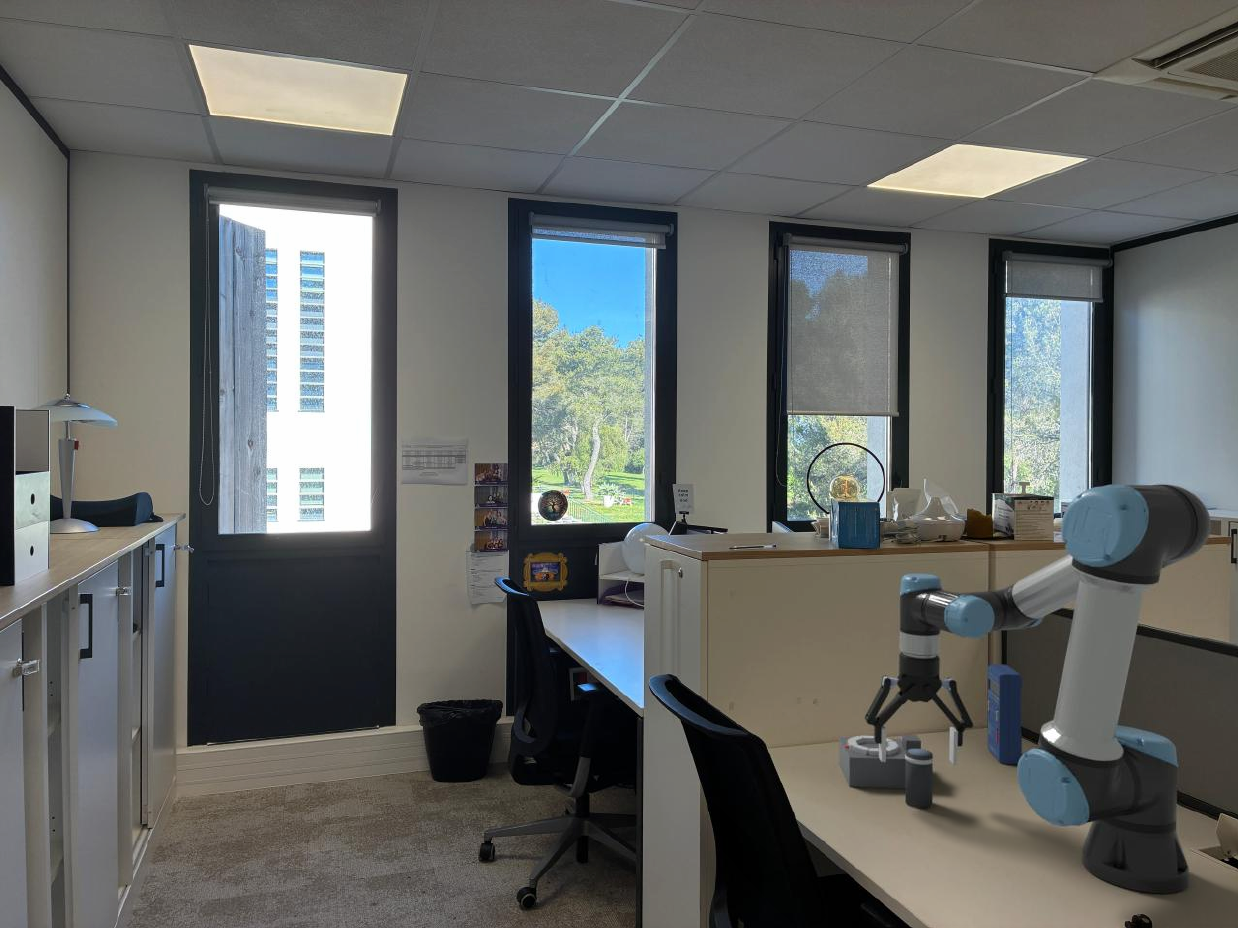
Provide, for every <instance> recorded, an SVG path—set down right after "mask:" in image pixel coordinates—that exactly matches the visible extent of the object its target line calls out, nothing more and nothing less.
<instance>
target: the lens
mask: <svg viewBox="0 0 1238 928" xmlns="http://www.w3.org/2000/svg"><path fill="white" fill-rule="evenodd" d="M905 760H906V788H905V804H906V805H907V806H909V807H911V808H914V809H921V810H927V809H930V808H932V807H933V794H934V793H933V786H934V785H933V782H934V781H933V778H934V777H933V769H934V767H933V765H934V764H933V763H934V756H933V752H932V751H929V750H928V749H927V750H926V749H922V748H921V749H908V750H906V754H905Z"/></svg>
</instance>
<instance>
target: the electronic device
mask: <svg viewBox="0 0 1238 928" xmlns="http://www.w3.org/2000/svg"><path fill="white" fill-rule="evenodd" d="M1022 689H1023V676H1022V675H1021V674H1020V673H1019V672H1017V671H1016V670H1014V669H1013V668H1012V667H1011V666H1009V665H1007V664H990V665H988V666H987V750H988V751H989V752H990V753H991V754H992V755H993V756H994V757H995V759H996V760H997V761H999V762H1000V763H1001V764H1003V765H1017V766H1018V762H1019V760H1020V758H1021V756H1022V755H1023V752H1022V751H1023V750H1022V749H1023V748H1022V747H1023V743H1022V742H1023V733H1022Z"/></svg>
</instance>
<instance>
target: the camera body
mask: <svg viewBox="0 0 1238 928" xmlns="http://www.w3.org/2000/svg"><path fill="white" fill-rule="evenodd" d="M838 749H839V750H838V765H839V767H840V770H841V772H842V774H843V775H844V778H845V780H846V782H847V784H848V786H849V787H857V788H865V787H866V788H885V789H887V788H889V789H890V788H891V789H906V760H905V754H906V750H908V749H922V740H921V739H920V737H919V736H918V735H917V734H902V735H901V738H887V737H886V762H882V761H881V760H880V758H879V744H876V742H875V740H874V735H856V736H853V737H842V736H841V737H839V739H838Z"/></svg>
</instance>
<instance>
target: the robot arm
mask: <svg viewBox="0 0 1238 928" xmlns="http://www.w3.org/2000/svg"><path fill="white" fill-rule="evenodd" d="M1060 525H1061V527H1060V534H1061V539H1062V541H1063V542H1065V545H1064V548H1065V550H1066V551H1067V553H1068V554H1067V555H1065V556H1063V557H1061V558H1059V559H1058V560H1056V561H1054V562H1052V563H1050V564H1047V565H1046V566H1044V567H1042V568H1041V569H1038V570H1036V571H1034V572H1033V573H1031V574H1028V575H1027V576H1025V577H1024V578H1022V579H1020V580H1018V581H1017V582H1014V583H1012V584H1010V585H1009V586H1007V587H1004V588H1002V589H996V590H995V589H993V590H987V591H986V590H985V591H967V592H956V591H949V590H946V589H942V588H943V586H942V580H941V578H940V577H939V576H937V575H934V574H929V573H928V574H927V573H908V574H904V575H903V576H902V578H901V580H900V592H899V651H900V653H899V654H898V655H899V656H898V658H899V659H898V661H899V662H898V675H897V678H895V677H889V676H888V675H887V674H886V675H883V676H882V677H881V684H880V688H879V689H878V691H877V693H876V694H875V697H874V698H873V701H872V703H871V705H870V706H869V708H868V709H867V711H866V714H865V715H864V720H865V722H866V723H867V724H868V725H871V726H872V727H873V736H874V740H875V742H876V744H879V758H880V760H881V761H882V762H886V738H887V728H886V727H885V724H886V723H887V722H888V721H889V720H890V719H891V717H893V716H894V714H895V713H896V712H897V711H898V710H899V709H900V708H901V707H902V706H903V705H905V704H906V703H907V702H908V701H910V702H912V703H918V702H923V703H929V702H930V701H933V702H934V703H935V704H936V706H937V707H938V708H939V709H940V710H941V712H942V713H943V714H944V715H945V717H947V719H948V720H949V721H950V722H951V723H952V725H953V726H949V751H948V753H949V755H948V757H949V758H948V760H949V761H950V763H952V765H955V766H956V765H958V747H962V746H963V745H964V744H963V743H964V741H963V740H964V739H963V738H964V732H965V731H966V729H968V728H969V729H971V728H973V727H974V723H973V721H972V718H971V716H970V714H969V713H968V711H967V709H966V706H965V705H964V703H963V701H962V698H961V696H960V694H959V691H958V686H957V682H956V680H954V678H952V677H947V678H946V679H944V678H943V679H941V678H940V677H941V676H940V667H941V666H940V663H941V661H940V660H941V659H940V658H941V657H940V656H939V654H940V652H941V631H943V632H946V633H949V634H954V635H956V636H959V637H961V638H969V639H974V640H975V639H977V640H979V639H981V638H983V637H985V636H986V635H988V633H990V632H995V631H997V632H998V631H1008V630H1009V631H1010V630H1026V629H1028V628H1033V627H1036V626H1038V625H1039V624H1041V623H1042V621H1043V620H1044V618H1045V616H1047V615H1049V614H1051V613H1054V612H1056V611H1058V610H1060V609H1063V608H1064V607H1067V606H1069V605H1071V604H1073V603H1075V605H1074V609H1073V615H1072V616H1073V617H1072V620H1071V626H1070V632H1069V635H1068V637H1069V638H1068V642H1067V647H1066V648H1067V649H1066V652H1065V658H1064V663H1063V668H1062V674H1061V679H1060V685H1059V691H1058V696H1057V700H1056V707H1055V710H1054V716H1053V719H1052V720H1049V721H1048V722H1045V723H1044V724H1042V726H1041V728H1040V734H1039V738H1038V744H1037V747H1036V748H1031V749H1029V750H1028V751H1026V752H1025V753H1022V756H1021V758H1020V760H1019V762H1018V765H1017V767H1016V768H1017V769H1016V775H1017V782H1018V785H1019V789H1020V791H1021V793H1022V794H1023V796H1024V798H1025V800H1026V802H1027V804H1028V805H1029V807H1030V808H1031V809H1032V811H1034V813H1035V814H1036V815H1037V816H1039V817H1040V818H1041V819H1042V820H1044V821H1046V822H1047V823H1049V824H1051V825H1054V826H1058V827H1071V826H1075V827H1079V826H1082V825H1086V824H1088V823H1091V825H1090V827H1089V830H1088V833H1087V836H1086V837H1085V840H1084V843H1083V845H1082V851H1081V854H1082V855H1081V856H1082V857H1081V858H1082V859H1081V860H1082V861H1081V862H1082V865H1083V866H1084V868H1085V869H1086V870H1087V871H1088V872H1089V873H1091V874H1092V875H1094V876H1095V877H1097V878H1099V879H1101V880H1103V881H1105V882H1107V883H1109V884H1112V885H1114V886H1118V887H1121V888H1124V889H1129V890H1132V891H1137V892H1143V893H1149V894H1151V893H1152V894H1171V893H1172V894H1175V893H1180V892H1181V891H1184V890H1186V889H1187V888H1188V887H1189V885H1190V868H1189V865H1188V862H1187V859H1186V856H1185V852H1184V850H1183V847H1182V845H1181V841H1180V839H1179V836H1178V832H1177V815H1178V814H1177V809H1178V808H1177V805H1178V803H1177V801H1178V798H1177V796H1178V778H1177V777H1178V768H1179V763H1178V759H1177V748H1176V745H1175V744H1174V742H1172V741H1171V740H1170V739H1169V738H1167V737H1165V736H1163V735H1161V734H1157V733H1154V732H1151V731H1147V730H1145V729H1144V730H1143V729H1140V728H1135V727H1130V726H1125V725H1119V724H1118V723H1119V718H1120V714H1121V708H1122V703H1123V699H1124V693H1125V689H1126V688H1125V687H1126V683H1127V679H1128V675H1129V669H1130V663H1131V659H1132V655H1133V649H1134V644H1135V639H1136V634H1137V629H1138V624H1139V619H1140V616H1141V615H1140V614H1141V609H1142V606H1143V605H1142V604H1143V600H1144V595H1145V592H1146V591H1148V590H1150V589H1152V588H1153V587H1155V586H1157V585H1158V584H1159V582H1160V576H1161V573H1162V570H1163V569H1164V568H1166V567H1169V566H1171V565H1172V564H1176V563H1178V562H1181V561H1182V560H1185V559H1187V558H1189V557H1190V558H1191V556H1193V555H1195V554H1197V553H1199V551H1200V550H1201V549H1202V548H1203V547H1204V546H1205V545H1206V542H1207V541H1208V539H1209V538H1210V534H1211V530H1212V529H1211V526H1212V521H1211V516H1210V512H1209V511H1208V509H1207V507H1206V505H1205V504H1204V502H1203V501H1202V499H1201V498H1199V497H1198V496H1197V495H1196V494H1194V493H1193V492H1191V491H1189V490H1188V489H1185V488H1183V487H1181V486H1178V485H1173V484H1119V483H1115V484H1108V485H1103V486H1096V487H1095V486H1094V487H1092V488H1088V489H1086V490H1084V491H1083V492H1081V493H1080V494H1077V495H1076V496H1075V497H1074V498H1073V499H1072V500H1071V502H1069V504H1068V505H1067V507H1066V509H1065V511H1064V513H1063V517H1062V518H1061V524H1060ZM895 686H897V687H898V688H899V690H898V691H897V693H896V694H895V696H894V697H893V699H891V701H889V703H888V704H887V705H886V706H885V707H884V708H883V709H882V711H880V710H881V708H882V707H883V705H884V703H885V702H886V699H887V698H888V696H889V693H890V692H891V690H892V689H894V687H895ZM942 687H944V689H945V690H946V691H948V693H949V696H950V698H951V700H952V702H953V704H954V706H955V708H956V709H957V712H958V714H959V717H960V718H961V720H959V719H958V718H957V717H956V716H955V715H954V713H953V712H952V711H951V710H950V709H949V707H948V706H947V705H946V704H945V703H944V701H943V700H942V699H941V698H940V696H939V695H938V693H939V691H940V690H941V688H942Z"/></svg>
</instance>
